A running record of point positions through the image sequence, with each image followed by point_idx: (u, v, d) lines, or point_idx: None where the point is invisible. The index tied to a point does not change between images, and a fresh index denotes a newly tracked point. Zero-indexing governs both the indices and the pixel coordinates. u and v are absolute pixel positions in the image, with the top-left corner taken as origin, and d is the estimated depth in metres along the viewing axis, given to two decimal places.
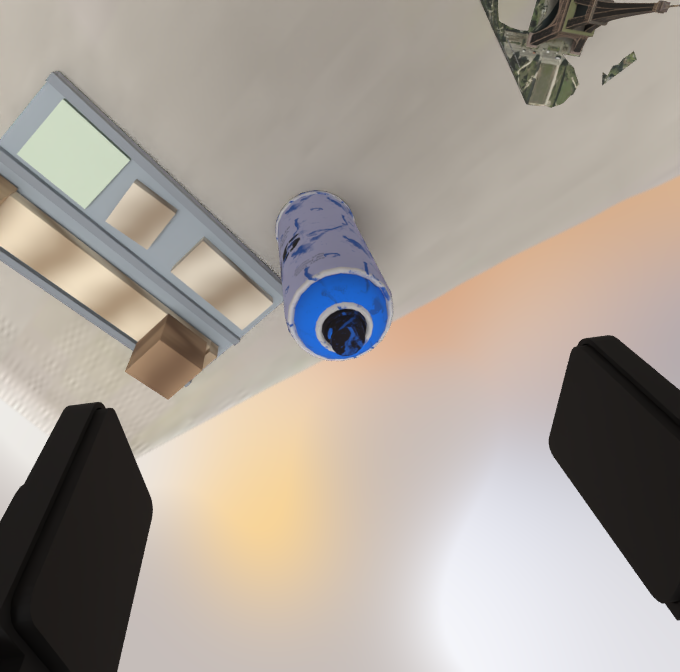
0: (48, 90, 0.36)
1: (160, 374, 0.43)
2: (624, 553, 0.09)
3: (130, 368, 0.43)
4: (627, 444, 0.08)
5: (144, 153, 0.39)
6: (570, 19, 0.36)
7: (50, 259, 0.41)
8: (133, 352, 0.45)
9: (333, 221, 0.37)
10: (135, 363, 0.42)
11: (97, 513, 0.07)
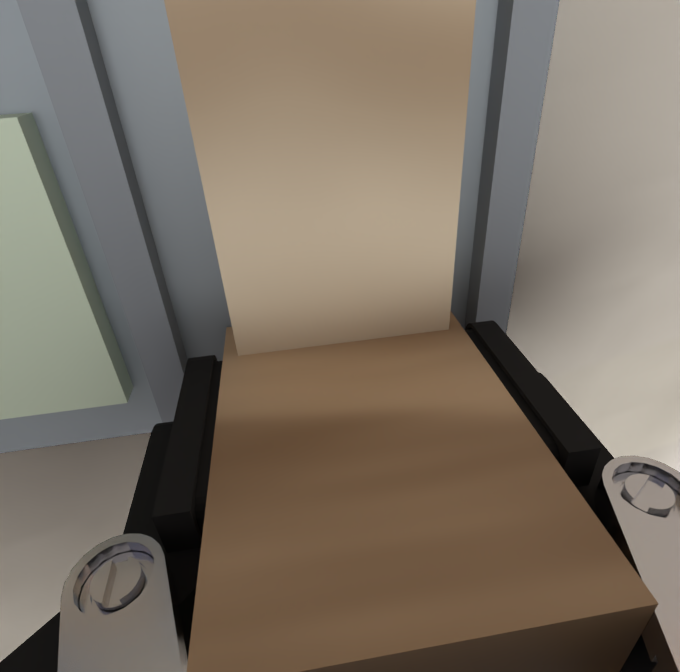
0: None
1: None
2: None
3: None
4: None
5: None
6: None
7: (356, 44, 0.07)
8: None
9: None
10: None
11: None
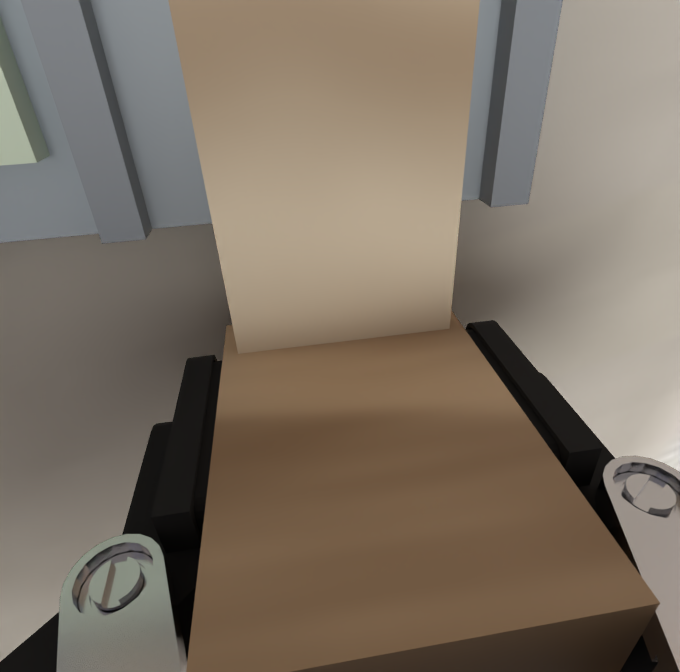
0: None
1: None
2: None
3: None
4: None
5: None
6: None
7: (359, 42, 0.07)
8: None
9: None
10: None
11: None
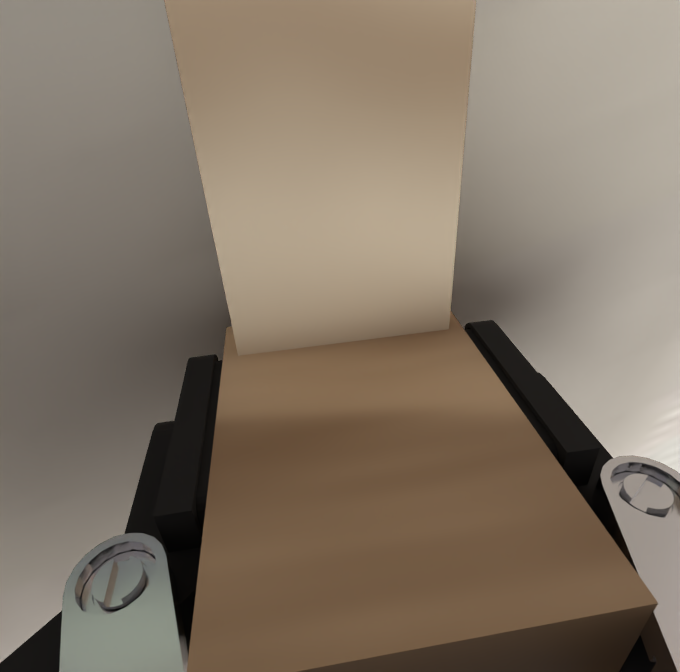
0: None
1: None
2: None
3: None
4: None
5: None
6: None
7: (356, 45, 0.07)
8: None
9: None
10: None
11: None
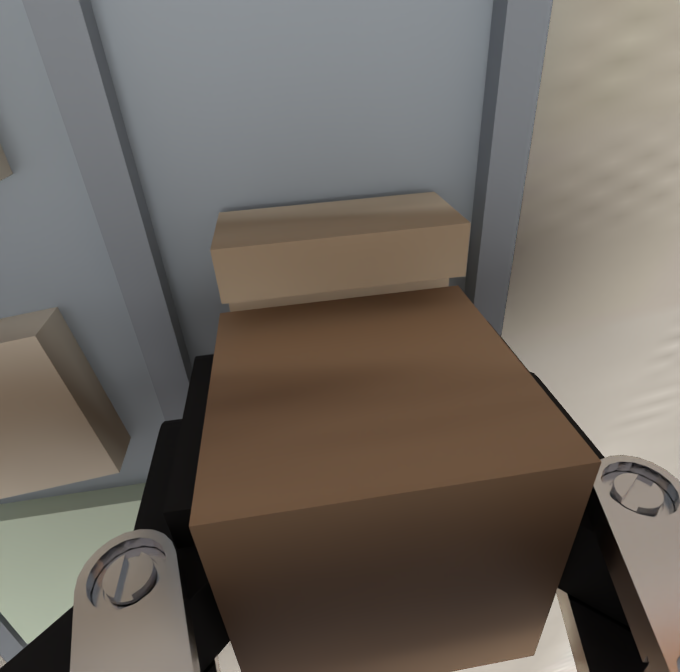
0: None
1: (435, 599, 0.07)
2: None
3: (501, 658, 0.08)
4: None
5: None
6: None
7: None
8: None
9: None
10: (459, 666, 0.08)
11: None
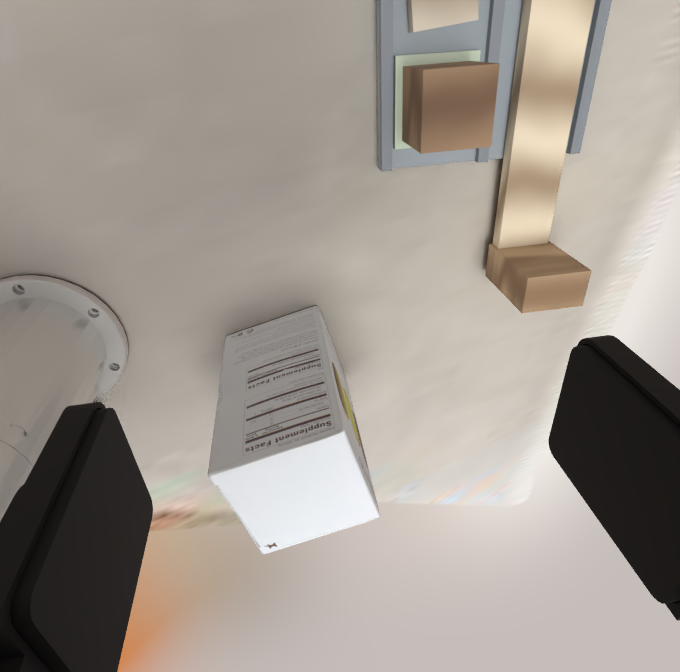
0: (398, 162, 0.36)
1: (466, 109, 0.30)
2: (624, 553, 0.09)
3: (482, 145, 0.31)
4: (627, 444, 0.08)
5: (378, 49, 0.32)
6: None
7: (538, 183, 0.37)
8: None
9: None
10: (471, 147, 0.31)
11: (97, 513, 0.07)
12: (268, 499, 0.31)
